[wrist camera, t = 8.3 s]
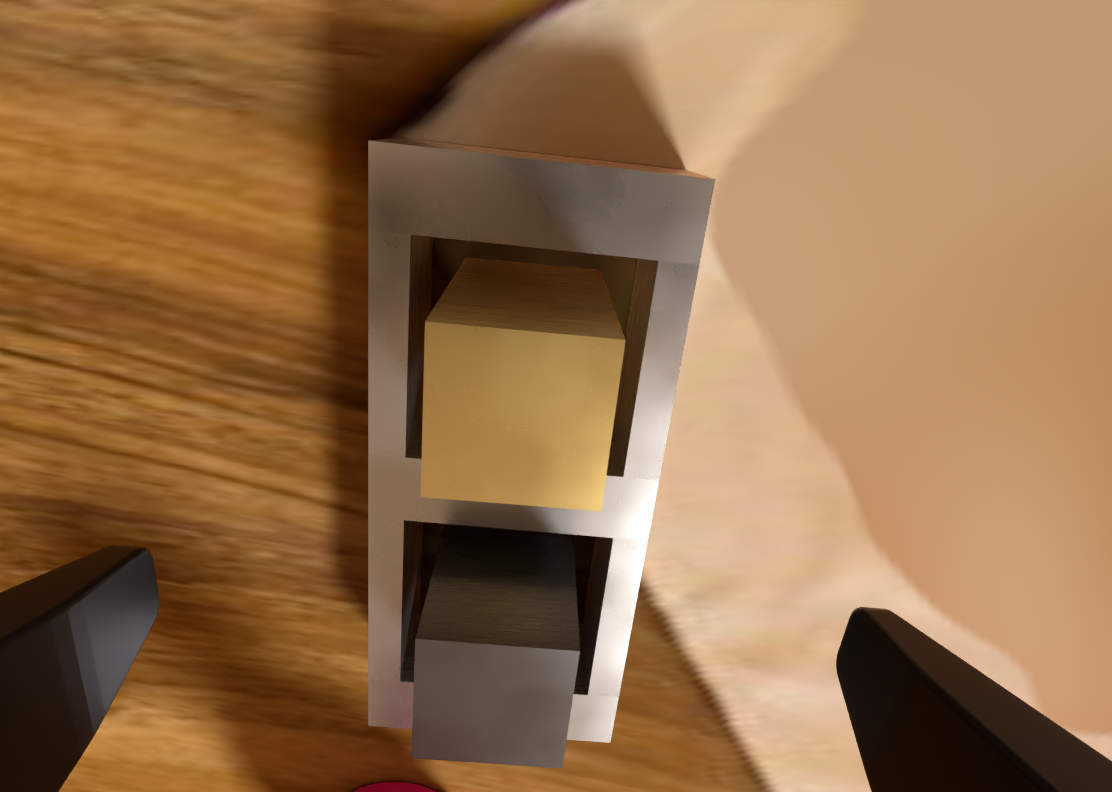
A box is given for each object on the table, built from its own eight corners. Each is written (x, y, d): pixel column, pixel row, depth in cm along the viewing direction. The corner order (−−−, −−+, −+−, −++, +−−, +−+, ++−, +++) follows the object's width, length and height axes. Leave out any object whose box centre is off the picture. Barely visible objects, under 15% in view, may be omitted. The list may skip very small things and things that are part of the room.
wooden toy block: (460, 383, 21) (420, 496, 15) (465, 256, 20) (424, 321, 13) (585, 394, 21) (600, 511, 15) (600, 270, 20) (625, 339, 13)
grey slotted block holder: (602, 664, 25) (620, 848, 19) (391, 648, 25) (336, 830, 19) (686, 170, 19) (758, 193, 12) (400, 137, 18) (318, 144, 12)
